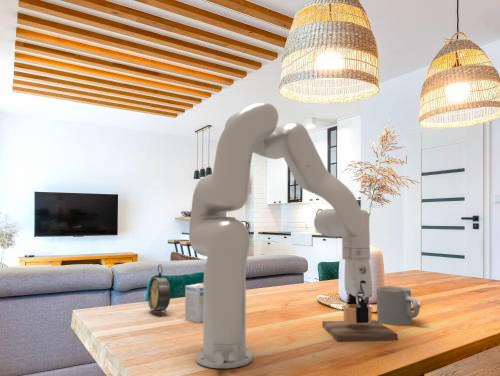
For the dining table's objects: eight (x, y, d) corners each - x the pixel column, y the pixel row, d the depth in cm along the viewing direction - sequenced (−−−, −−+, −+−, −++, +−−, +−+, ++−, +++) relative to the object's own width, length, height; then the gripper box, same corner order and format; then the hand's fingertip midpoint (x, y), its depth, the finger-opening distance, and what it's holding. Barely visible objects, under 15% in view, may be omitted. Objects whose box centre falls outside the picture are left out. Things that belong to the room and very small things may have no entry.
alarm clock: (146, 311, 141) (147, 263, 142) (161, 309, 144) (162, 262, 145) (157, 317, 132) (157, 266, 133) (173, 315, 134) (173, 265, 136)
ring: (374, 324, 110) (374, 309, 111) (349, 324, 110) (348, 309, 110) (365, 318, 117) (365, 304, 118) (341, 318, 117) (341, 304, 117)
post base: (397, 339, 106) (397, 314, 107) (337, 341, 105) (336, 315, 106) (375, 325, 121) (375, 303, 122) (322, 326, 120) (322, 303, 121)
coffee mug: (370, 319, 129) (370, 287, 130) (396, 316, 132) (395, 285, 133) (400, 329, 116) (399, 293, 117) (427, 326, 120) (426, 291, 121)
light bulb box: (208, 313, 137) (208, 281, 138) (223, 316, 133) (223, 283, 134) (183, 319, 129) (184, 285, 130) (198, 323, 125) (199, 287, 126)
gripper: (381, 256, 107) (383, 326, 105) (358, 251, 124) (360, 312, 123) (353, 256, 106) (354, 327, 105) (334, 251, 123) (335, 312, 122)
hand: (357, 318), depth 114 cm, fingers closed on ring, 7 cm apart
